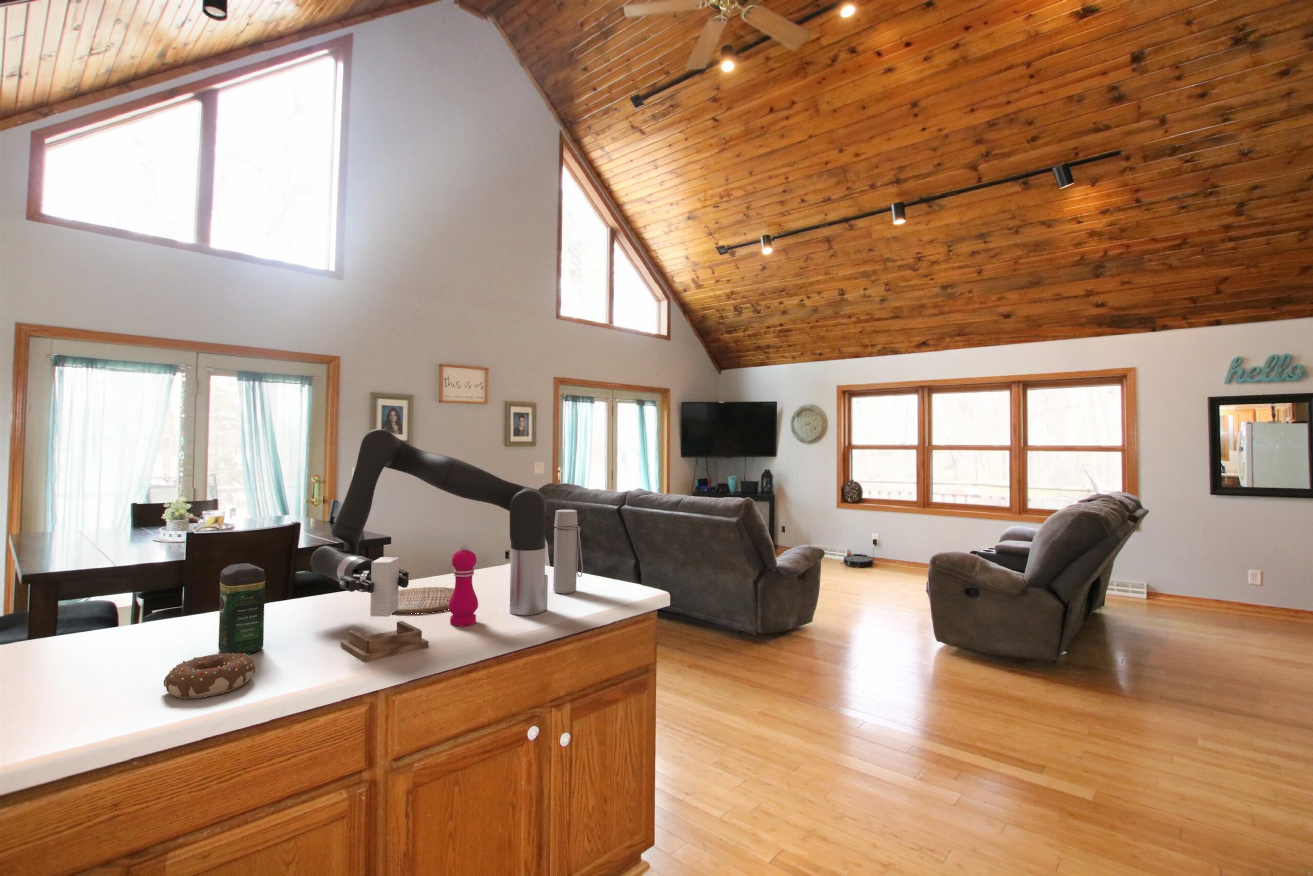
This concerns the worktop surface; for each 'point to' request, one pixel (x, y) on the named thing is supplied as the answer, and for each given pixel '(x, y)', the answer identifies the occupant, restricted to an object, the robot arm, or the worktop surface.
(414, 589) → the trivet
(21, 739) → the worktop surface
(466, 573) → the pepper mill
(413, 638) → the u rest
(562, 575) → the water bottle
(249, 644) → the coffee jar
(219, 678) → the donut
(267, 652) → the worktop surface
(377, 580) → the skincare box
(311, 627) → the worktop surface
